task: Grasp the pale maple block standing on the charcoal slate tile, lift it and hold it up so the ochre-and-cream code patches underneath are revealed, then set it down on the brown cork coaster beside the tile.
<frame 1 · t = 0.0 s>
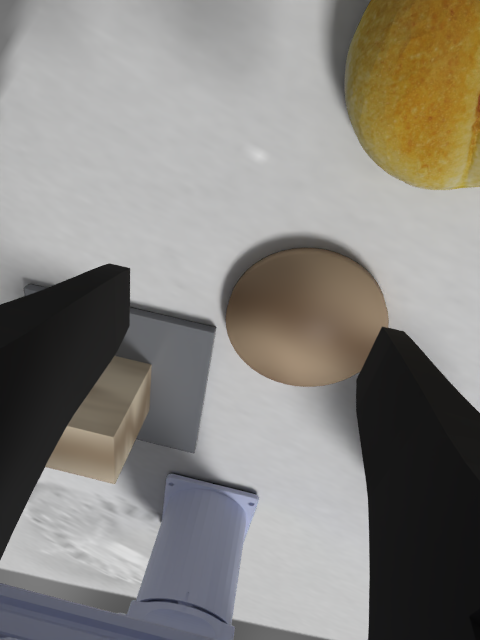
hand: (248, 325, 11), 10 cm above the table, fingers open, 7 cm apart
code tile: (122, 374, 28), on the table
cork coaster: (304, 319, 23), on the table
bread roll: (464, 68, 16), on the table
maple block: (119, 380, 27), point 1 cm above the table, touching code tile
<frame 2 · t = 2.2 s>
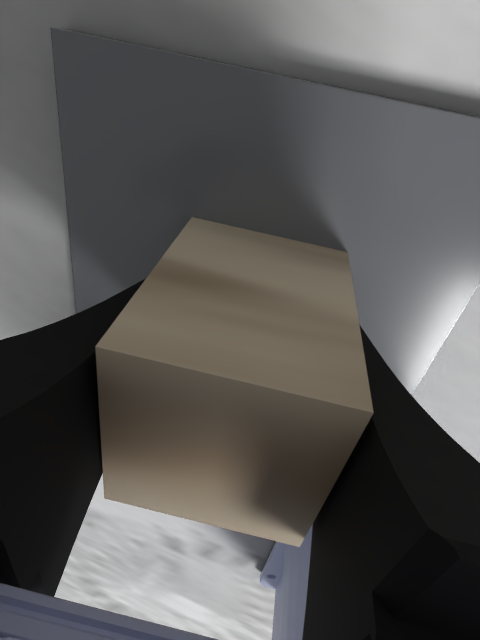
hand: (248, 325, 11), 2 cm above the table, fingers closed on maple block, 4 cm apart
code tile: (256, 291, 13), on the table
maple block: (254, 300, 12), point 1 cm above the table, touching code tile, gripper
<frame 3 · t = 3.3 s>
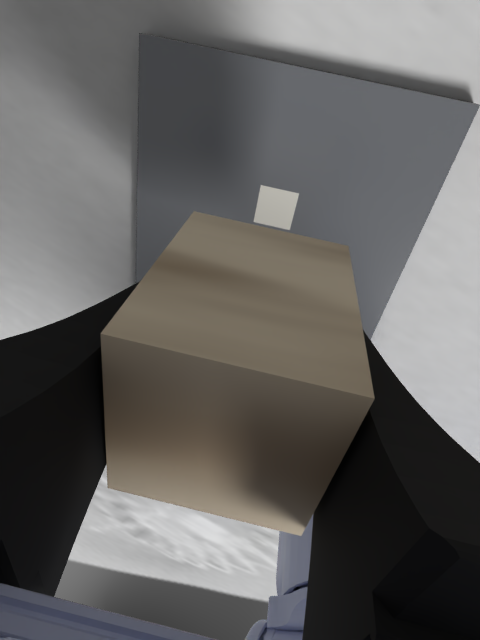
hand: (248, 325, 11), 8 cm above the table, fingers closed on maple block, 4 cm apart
code tile: (271, 225, 18), on the table
maple block: (255, 294, 12), point 6 cm above the table, touching gripper
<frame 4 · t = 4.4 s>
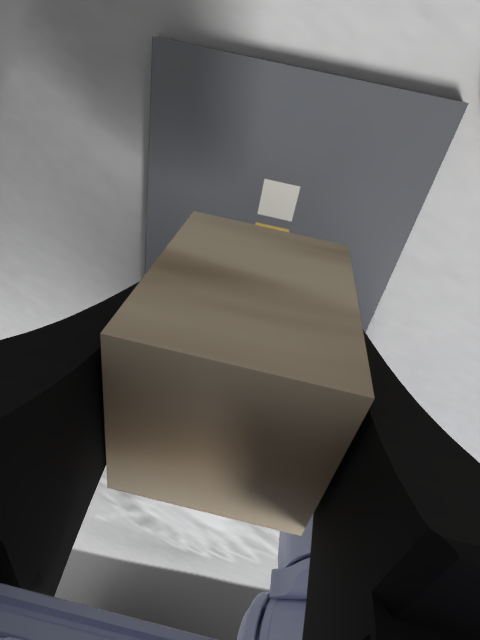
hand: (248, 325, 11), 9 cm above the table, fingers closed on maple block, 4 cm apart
code tile: (274, 217, 19), on the table
maple block: (255, 294, 12), point 7 cm above the table, touching gripper
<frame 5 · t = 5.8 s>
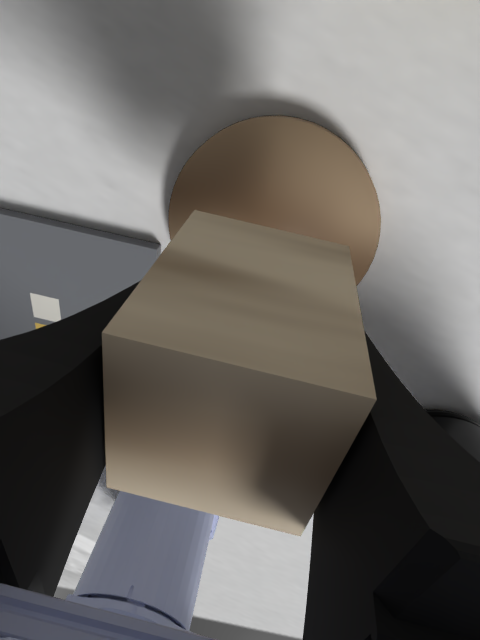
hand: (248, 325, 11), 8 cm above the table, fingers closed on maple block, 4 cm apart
supplement container: (427, 441, 24), on the table
code tile: (53, 317, 22), on the table
cork coaster: (271, 228, 18), on the table
maple block: (255, 294, 12), point 6 cm above the table, touching gripper
when the fingers open (3 cm above the table, at t = 7.0 s): maple block stays where it is, resting on cork coaster.
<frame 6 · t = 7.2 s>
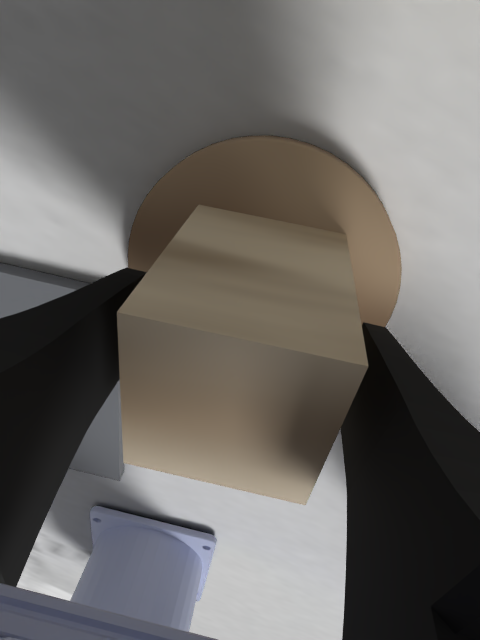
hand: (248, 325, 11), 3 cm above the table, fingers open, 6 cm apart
code tile: (2, 368, 19), on the table
cork coaster: (260, 275, 14), on the table
maple block: (258, 283, 13), point 1 cm above the table, touching cork coaster
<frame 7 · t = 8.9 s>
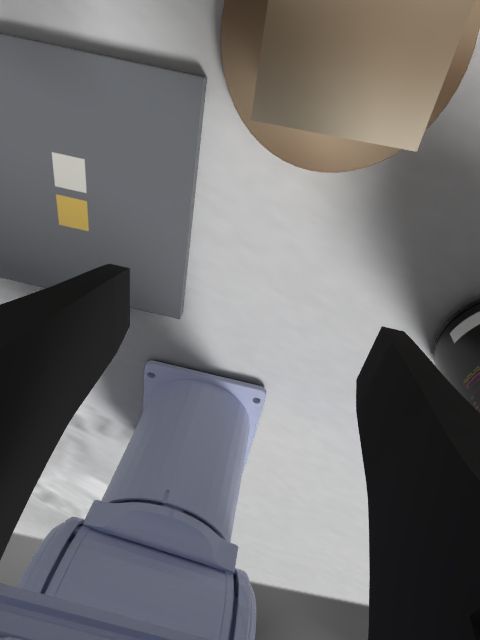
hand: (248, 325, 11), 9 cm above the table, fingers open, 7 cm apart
code tile: (77, 190, 20), on the table
cork coaster: (341, 43, 15), on the table
maple block: (344, 39, 14), point 1 cm above the table, touching cork coaster
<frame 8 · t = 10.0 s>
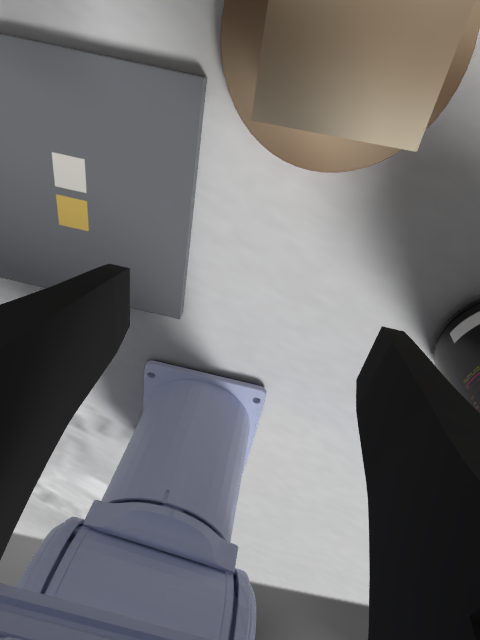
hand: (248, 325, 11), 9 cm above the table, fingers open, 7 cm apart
code tile: (77, 190, 20), on the table
cork coaster: (341, 43, 15), on the table
maple block: (344, 39, 14), point 1 cm above the table, touching cork coaster
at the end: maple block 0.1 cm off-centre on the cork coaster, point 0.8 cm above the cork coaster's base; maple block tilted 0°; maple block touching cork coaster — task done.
